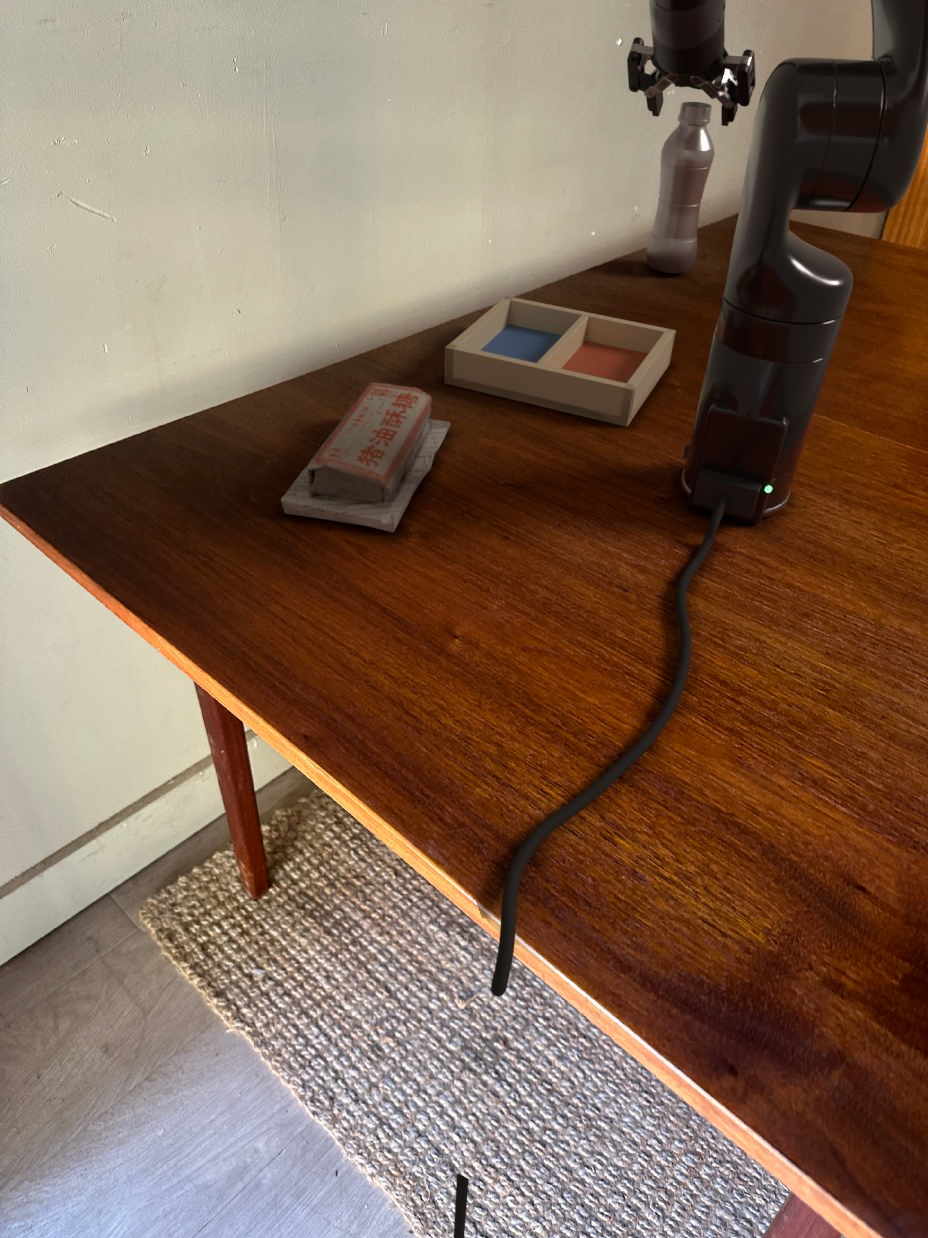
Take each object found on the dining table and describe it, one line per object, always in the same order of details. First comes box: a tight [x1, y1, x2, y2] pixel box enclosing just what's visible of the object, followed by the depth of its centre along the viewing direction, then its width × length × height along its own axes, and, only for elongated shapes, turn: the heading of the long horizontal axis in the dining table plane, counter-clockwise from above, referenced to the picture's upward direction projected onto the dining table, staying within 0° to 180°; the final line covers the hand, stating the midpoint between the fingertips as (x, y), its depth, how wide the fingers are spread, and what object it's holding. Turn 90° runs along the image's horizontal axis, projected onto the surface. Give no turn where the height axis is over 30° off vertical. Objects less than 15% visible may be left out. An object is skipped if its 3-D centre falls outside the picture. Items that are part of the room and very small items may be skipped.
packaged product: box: [280, 382, 451, 533], centre depth 80 cm, size 18×5×10 cm
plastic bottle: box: [645, 101, 715, 274], centre depth 117 cm, size 6×7×20 cm
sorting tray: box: [444, 295, 677, 427], centre depth 97 cm, size 16×20×4 cm
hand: (692, 114), depth 111 cm, fingers open, 8 cm apart
